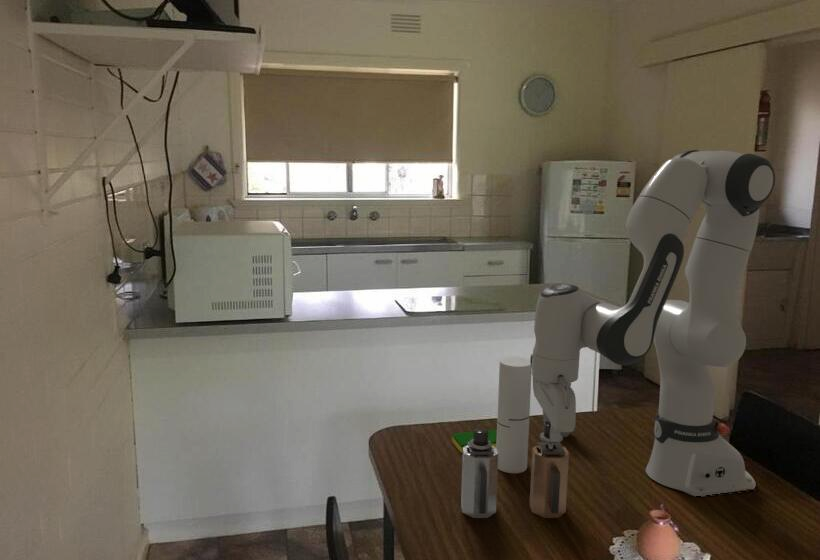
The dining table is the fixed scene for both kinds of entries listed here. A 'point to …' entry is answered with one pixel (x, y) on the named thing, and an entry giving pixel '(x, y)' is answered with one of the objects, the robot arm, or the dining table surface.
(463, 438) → the dish sponge
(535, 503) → the copper press carafe
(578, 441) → the dining table surface
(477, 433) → the steel press plunger
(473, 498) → the steel press carafe
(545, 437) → the copper press plunger
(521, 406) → the cylindrical container
